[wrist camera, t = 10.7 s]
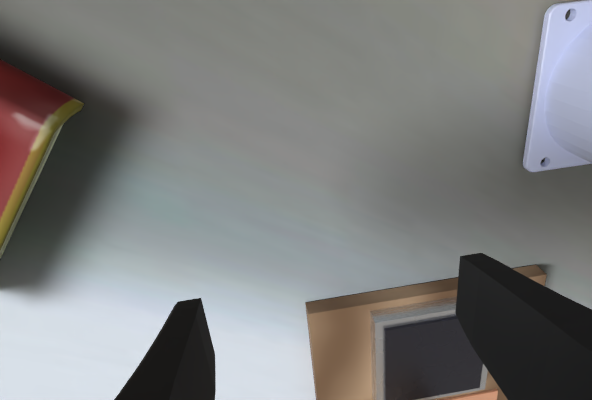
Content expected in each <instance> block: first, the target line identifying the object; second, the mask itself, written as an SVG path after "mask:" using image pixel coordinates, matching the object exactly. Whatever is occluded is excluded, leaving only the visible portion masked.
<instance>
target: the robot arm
mask: <svg viewBox="0 0 592 400" xmlns="http://www.w3.org/2000/svg"><path fill="white" fill-rule="evenodd" d="M568 10H570V16H569V18H568V19H567V20H566V19H565V15H566V12H567V11H568ZM543 158H545V161H544V162H543V163H542V164H540V163H541V160H542V159H543ZM586 164H592V0H582V1H574V2H565V3H557V4H554V5H552V6H551V7H549V8H548V10H547V11H546V13H545V17H544V23H543V29H542V36H541V43H540V50H539V56H538V63H537V70H536V77H535V83H534V90H533V97H532V104H531V110H530V117H529V124H528V131H527V137H526V144H525V151H524V158H523V167H524V168H525V169H526V170H528V171H530V172H539V171H545V170H552V169H559V168H566V167H572V166H579V165H586ZM455 314H456V316H457V318H458V320H459V322H460V324H461V326H462V328H463V330H464V332H465V334H466V336H467V338H468V340H469V342H470V344H471V346H472V347H473V349H474V350H475V352H476V353H477V355H478V356H479V358H480V359H481V361H482V362H483V364H484V365H485V367H486V368H487V370H488V371H489V373H490V374H491V376H492V377H493V379H494V380H495V382H496V383H497V385H498V386H499V388H500V389H501V390H502V392H503V393H504V395H505V396H506V398H507V399H508V400H592V310H591V309H589V308H587V307H585V306H583V305H581V304H579V303H576V302H574V301H572V300H570V299H568V298H566V297H564V296H562V295H560V294H558V293H556V292H554V291H553V290H551V289H549V288H547V287H545V286H543V285H541V284H539V283H537V282H535V281H534V280H532V279H530V278H528V277H526V276H524V275H523V274H521V273H519V272H517V271H515V270H513V269H511V268H510V267H508V266H506V265H504V264H502V263H500V262H499V261H497V260H495V259H493V258H491V257H489V256H487V255H485V254H483V253H478V254H472V255H465V256H460V266H459V277H458V288H457V300H456V311H455ZM114 400H215V353H214V349H213V345H212V341H211V337H210V333H209V329H208V325H207V321H206V317H205V313H204V309H203V305H202V300H201V298H198V299H192V300H186V301H180V302H177V304H176V305H175V306H174V308H173V310H172V312H171V313H170V315H169V317H168V319H167V320H166V322H165V324H164V326H163V327H162V329H161V331H160V332H159V334H158V336H157V337H156V339H155V341H154V342H153V344H152V346H151V347H150V349H149V350H148V352H147V353H146V355H145V357H144V358H143V360H142V361H141V363H140V364H139V366H138V367H137V369H136V370H135V372H134V373H133V374H132V376H131V377H130V379H129V380H128V381H127V383H126V384H125V386H124V387H123V389H122V390H121V391H120V393H119V394H118V395H117V397H116V398H115V399H114Z"/></svg>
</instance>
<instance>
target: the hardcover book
mask: <svg viewBox="0 0 592 400" xmlns="http://www.w3.org/2000/svg"><path fill="white" fill-rule="evenodd" d="M83 105H84V103H82V102H80V101H79V100H77V99H75V98H73V97H71V96H69V95H67V94H65V93H63V92H61V91H60V90H58V89H56V88H54V87H52V86H50V85H48V84H46V83H44V82H43V81H41V80H39V79H37V78H35V77H33V76H31V75H29V74H27V73H25V72H24V71H22V70H20V69H18V68H16V67H14V66H12V65H10V64H8V63H7V62H5V61H3V60H1V59H0V259H1V257H2V255H3V253H4V251H5V249H6V246H7V244H8V242H9V240H10V238H11V236H12V233H13V231H14V229H15V227H16V225H17V223H18V221H19V218H20V216H21V214H22V212H23V210H24V208H25V205H26V203H27V201H28V199H29V197H30V195H31V193H32V190H33V188H34V186H35V184H36V182H37V180H38V178H39V175H40V173H41V171H42V169H43V167H44V165H45V162H46V160H47V158H48V156H49V154H50V152H51V150H52V147H53V145H54V143H55V141H56V139H57V137H58V134H59V132H60V130H61V128H62V126H63V124H64V123H65V122H66V121H67V120H68V119H69V118H70V117H71V116H73V115H74V114H76V113H77V112H80V111H81V109H82V107H83Z"/></svg>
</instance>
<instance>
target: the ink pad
mask: <svg viewBox="0 0 592 400" xmlns="http://www.w3.org/2000/svg"><path fill="white" fill-rule="evenodd" d="M456 300H457V296H456V297H450V298H444V299H438V300H432V301H426V302H420V303H414V304H408V305H402V306H396V307H390V308H384V309H378V310H372V311H370V335H371V373H372V397H373V400H430V399H435V398H441V397H446V396H451V395H457V394H462V393H468V392H473V391H478V390H484V389H485V386H486V379H487V372H488V370H487V368H486V367H485V365H484V364H483V362H482V361H481V359H480V358H479V356H478V355H477V353H476V352H475V350H474V349H473V347H472V346H471V344H470V342H469V340H468V338H467V336H466V334H465V332H464V330H463V328H462V326H461V324H460V322H459V320H458V318H457V316H456V314H455V311H456Z"/></svg>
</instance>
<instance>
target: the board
mask: <svg viewBox="0 0 592 400" xmlns="http://www.w3.org/2000/svg"><path fill="white" fill-rule="evenodd" d="M513 270H515V271H517V272H519V273H521V274H523V275H524V276H526V277H528V278H530V279H532V280H534V281H535V282H537V283H539V284H541V285H543V286H544V285H545V280H546V275H547V274H546V273H544V272H543V271H542V270H541V269H540V268H539V267H538V266H537V265H531V266H525V267H519V268H513ZM457 288H458V278H452V279H446V280H440V281H434V282H428V283H422V284H416V285H409V286H403V287H397V288H391V289H385V290H379V291H373V292H367V293H361V294H355V295H349V296H343V297H337V298H331V299H324V300H318V301H312V302H306V312H307V321H308V330H309V339H310V348H311V357H312V366H313V375H314V384H315V393H316V400H373V397H372V373H371V335H370V311H372V310H378V309H384V308H390V307H396V306H402V305H408V304H414V303H420V302H426V301H432V300H438V299H444V298H450V297H456V296H457ZM491 389H497V390H498V395H497V400H508V399H507V398H506V396H505V395H504V393H503V392H502V390H501V389H500V388H499V386H498V385H497V383H496V382H495V380H494V379H493V377H492V376H491V374H490V373H489V371H488V372H487V379H486V386H485V389H484V390H478V391H473V392H468V393H462V394H457V395H451V396H446V397H441V398H435V399H430V400H437V399H443V398H448V397H454V396H459V395H464V394H470V393H475V392H481V391H486V390H491Z"/></svg>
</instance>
